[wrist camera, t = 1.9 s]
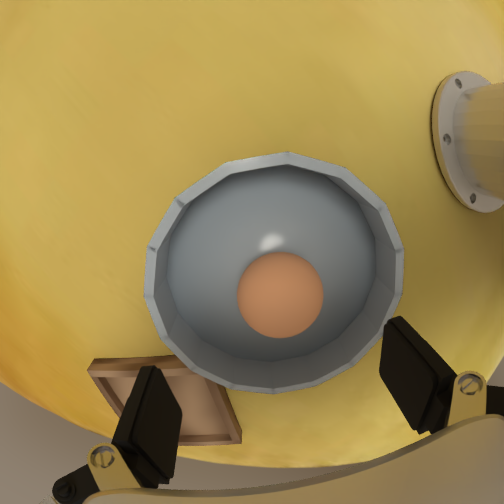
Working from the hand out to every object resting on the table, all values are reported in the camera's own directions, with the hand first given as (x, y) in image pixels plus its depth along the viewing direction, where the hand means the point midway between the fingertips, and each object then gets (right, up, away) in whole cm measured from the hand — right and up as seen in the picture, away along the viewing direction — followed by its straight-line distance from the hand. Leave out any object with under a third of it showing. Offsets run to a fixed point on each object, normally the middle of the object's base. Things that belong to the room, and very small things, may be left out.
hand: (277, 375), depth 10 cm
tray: (-9, -10, +13) cm, 19 cm away
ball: (0, +3, +8) cm, 9 cm away
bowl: (0, +3, +9) cm, 10 cm away
